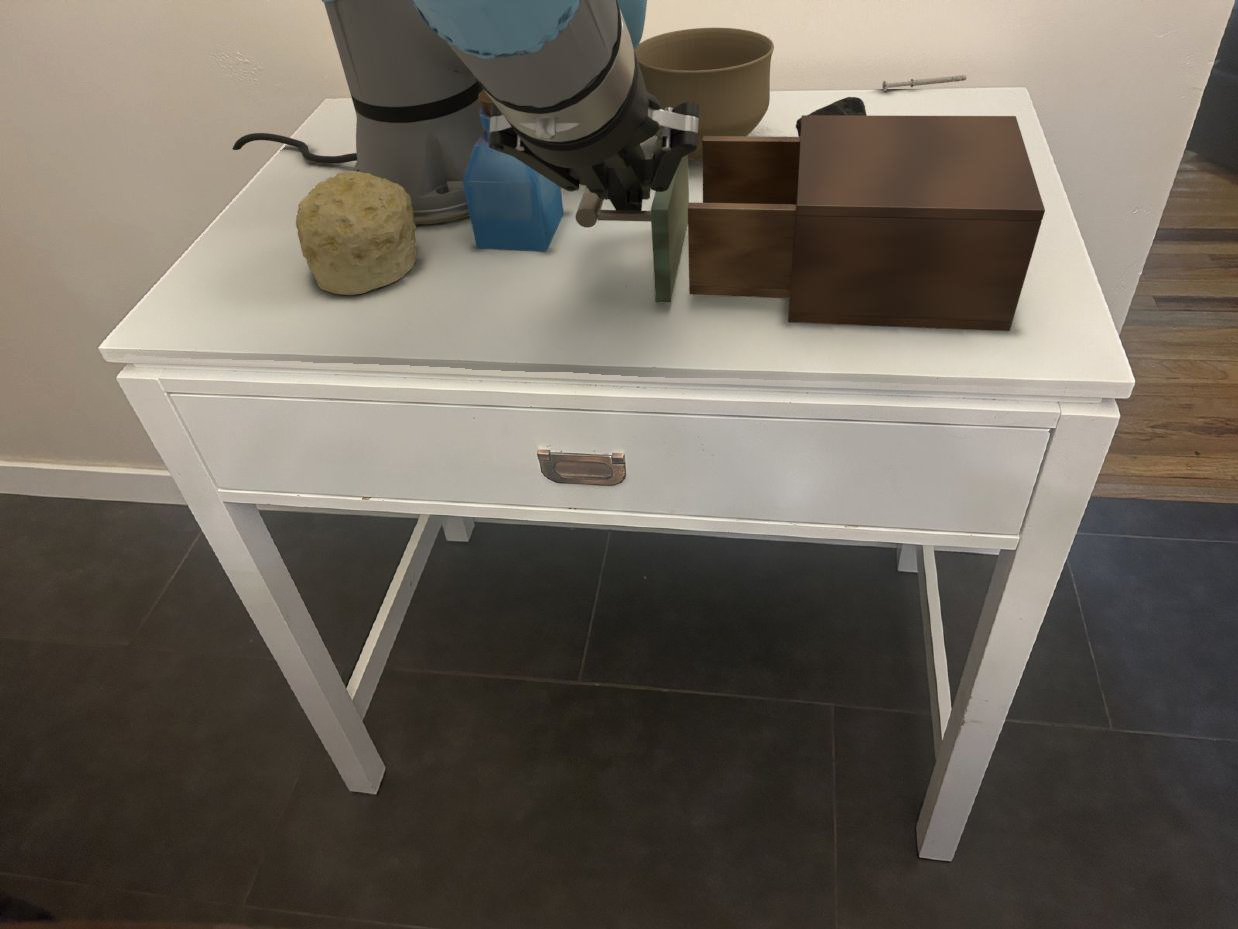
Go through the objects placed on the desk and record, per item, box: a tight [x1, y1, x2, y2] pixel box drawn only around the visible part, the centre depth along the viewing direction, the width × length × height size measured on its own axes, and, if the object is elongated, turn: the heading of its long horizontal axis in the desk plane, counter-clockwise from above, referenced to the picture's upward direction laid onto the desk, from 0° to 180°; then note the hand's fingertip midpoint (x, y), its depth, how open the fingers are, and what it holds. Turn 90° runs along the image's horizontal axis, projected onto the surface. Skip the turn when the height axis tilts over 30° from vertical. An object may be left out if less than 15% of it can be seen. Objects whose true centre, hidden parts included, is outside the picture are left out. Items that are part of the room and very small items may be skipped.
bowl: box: [634, 27, 775, 161], centre depth 83 cm, size 13×13×10 cm
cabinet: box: [787, 114, 1046, 332], centre depth 67 cm, size 16×14×10 cm
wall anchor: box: [881, 74, 967, 92], centre depth 93 cm, size 1×9×1 cm
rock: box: [795, 96, 868, 137], centre depth 83 cm, size 9×7×5 cm
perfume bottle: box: [463, 90, 565, 252], centre depth 75 cm, size 6×6×12 cm
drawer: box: [574, 135, 800, 304], centre depth 69 cm, size 20×12×8 cm, turn 80°
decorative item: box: [295, 170, 418, 296], centre depth 74 cm, size 10×10×10 cm
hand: (632, 202), depth 69 cm, fingers closed
